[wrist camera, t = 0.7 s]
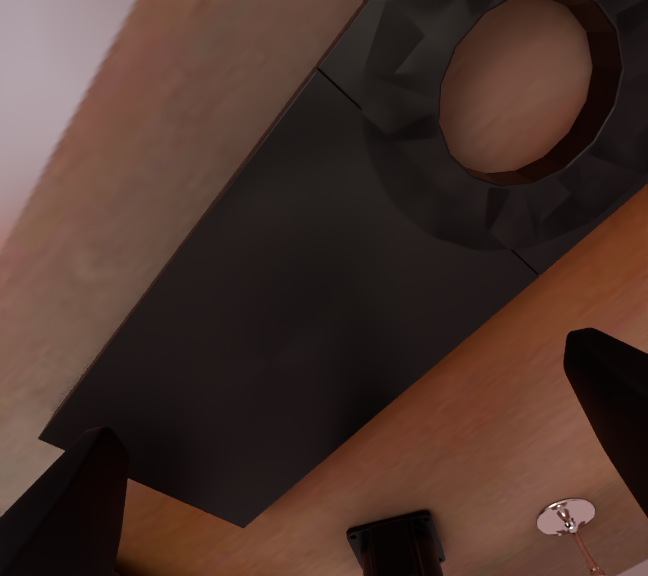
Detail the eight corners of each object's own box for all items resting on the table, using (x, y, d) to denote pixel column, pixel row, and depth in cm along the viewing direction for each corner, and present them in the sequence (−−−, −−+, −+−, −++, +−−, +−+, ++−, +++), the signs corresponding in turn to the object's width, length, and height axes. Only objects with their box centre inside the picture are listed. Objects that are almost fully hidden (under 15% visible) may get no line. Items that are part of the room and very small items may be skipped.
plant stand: (246, 501, 32) (243, 528, 30) (54, 413, 27) (37, 439, 25) (735, 69, 19) (778, 72, 18) (545, -241, 14) (579, -279, 13)
